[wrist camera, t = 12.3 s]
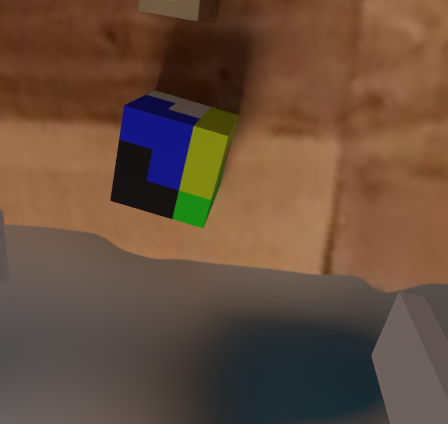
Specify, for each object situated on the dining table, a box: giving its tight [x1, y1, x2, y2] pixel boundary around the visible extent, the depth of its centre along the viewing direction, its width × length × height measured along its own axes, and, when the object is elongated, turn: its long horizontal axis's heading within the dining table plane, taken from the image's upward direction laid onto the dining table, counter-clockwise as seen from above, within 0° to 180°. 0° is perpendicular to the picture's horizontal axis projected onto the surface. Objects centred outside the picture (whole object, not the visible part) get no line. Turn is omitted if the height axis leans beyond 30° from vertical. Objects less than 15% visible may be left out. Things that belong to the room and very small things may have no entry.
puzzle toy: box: [110, 90, 239, 228], centre depth 43 cm, size 10×10×10 cm
